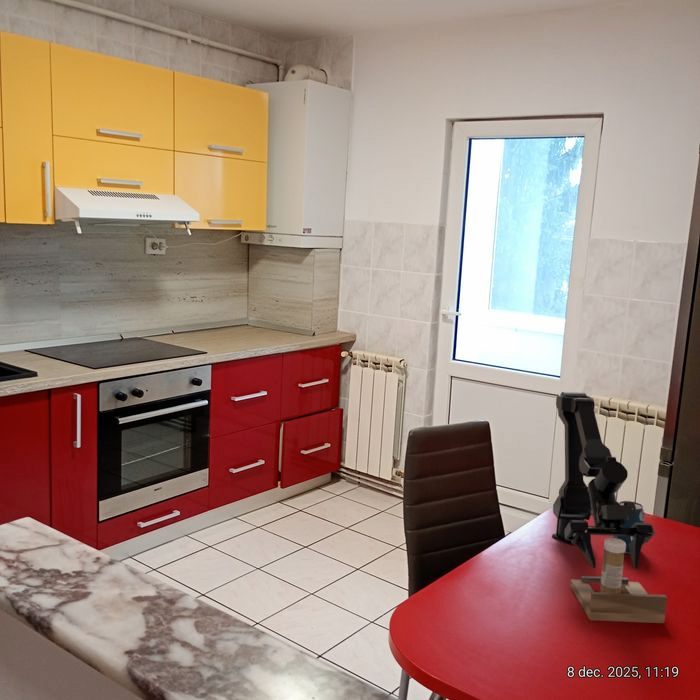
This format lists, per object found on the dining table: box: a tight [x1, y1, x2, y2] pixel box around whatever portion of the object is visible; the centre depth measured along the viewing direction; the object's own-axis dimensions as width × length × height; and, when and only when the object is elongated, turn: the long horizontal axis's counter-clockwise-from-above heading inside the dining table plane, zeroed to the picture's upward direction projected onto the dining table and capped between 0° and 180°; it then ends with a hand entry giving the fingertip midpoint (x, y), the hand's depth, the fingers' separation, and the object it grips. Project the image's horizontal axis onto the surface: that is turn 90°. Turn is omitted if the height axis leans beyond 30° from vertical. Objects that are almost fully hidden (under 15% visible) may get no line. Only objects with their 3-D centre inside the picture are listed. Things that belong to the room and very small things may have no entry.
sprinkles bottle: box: [599, 537, 626, 593], centre depth 168 cm, size 5×5×13 cm
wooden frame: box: [569, 575, 668, 624], centre depth 165 cm, size 15×16×6 cm
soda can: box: [612, 500, 646, 555], centre depth 195 cm, size 7×7×12 cm
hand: (615, 568), depth 166 cm, fingers open, 9 cm apart
